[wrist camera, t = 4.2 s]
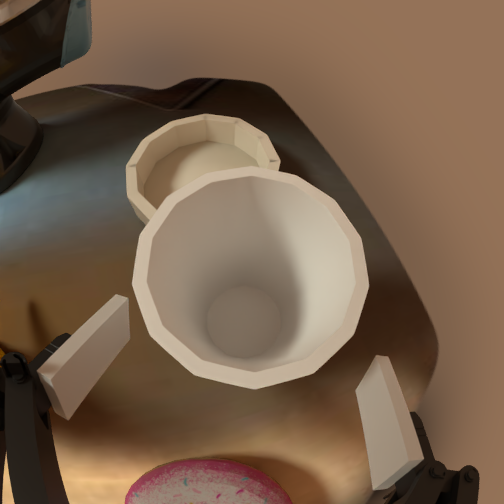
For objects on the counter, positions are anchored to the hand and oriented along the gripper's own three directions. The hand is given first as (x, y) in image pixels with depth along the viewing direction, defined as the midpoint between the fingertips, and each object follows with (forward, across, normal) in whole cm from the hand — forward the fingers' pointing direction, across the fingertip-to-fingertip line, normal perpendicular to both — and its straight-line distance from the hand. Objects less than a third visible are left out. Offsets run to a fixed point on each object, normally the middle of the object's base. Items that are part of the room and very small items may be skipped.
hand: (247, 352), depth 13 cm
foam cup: (+8, -1, -4) cm, 9 cm away
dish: (+17, -8, +5) cm, 19 cm away
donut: (-4, +1, -17) cm, 17 cm away
